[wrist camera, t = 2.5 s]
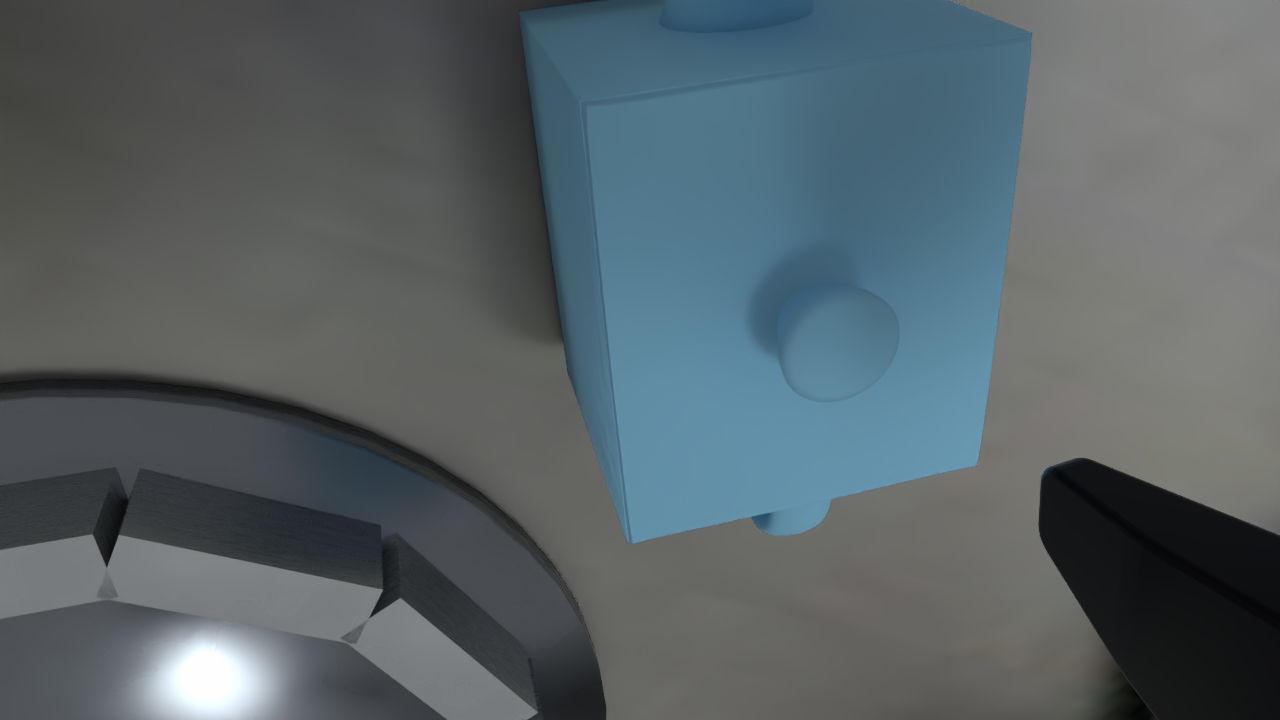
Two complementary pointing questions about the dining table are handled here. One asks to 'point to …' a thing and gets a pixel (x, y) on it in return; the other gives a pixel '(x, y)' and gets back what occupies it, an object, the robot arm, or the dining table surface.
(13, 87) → the dining table surface
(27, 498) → the grey round dish
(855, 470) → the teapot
